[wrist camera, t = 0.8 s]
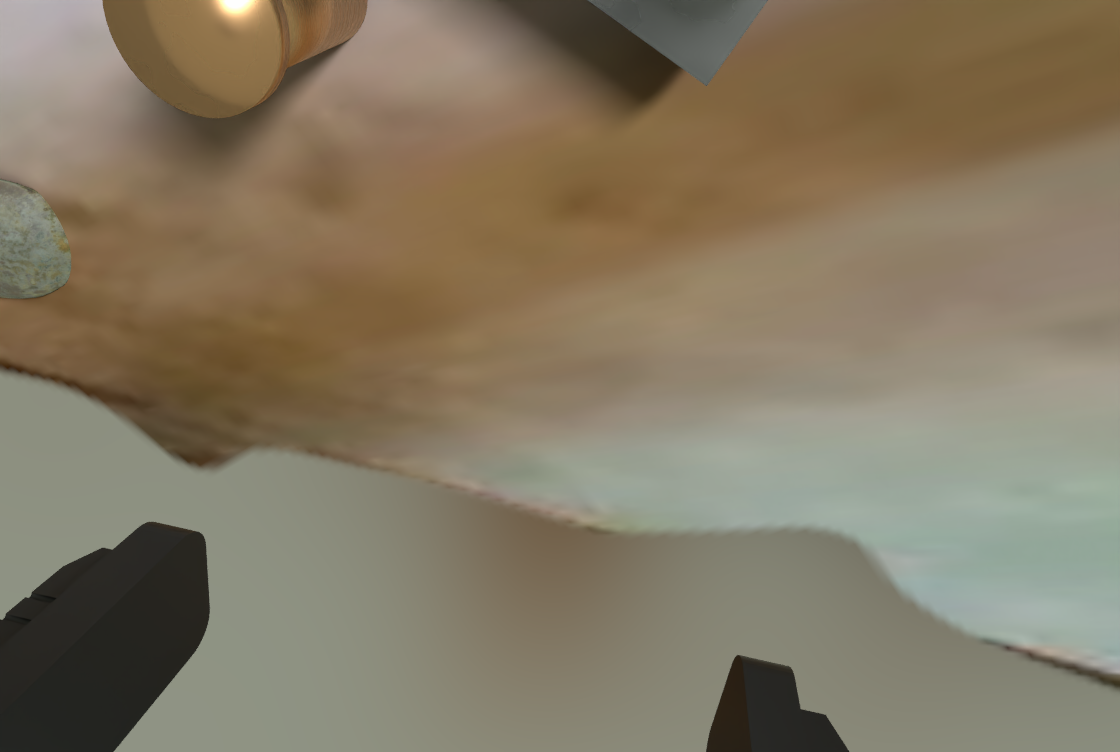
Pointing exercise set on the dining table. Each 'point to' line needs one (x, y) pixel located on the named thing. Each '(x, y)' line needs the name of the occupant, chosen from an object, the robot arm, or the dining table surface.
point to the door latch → (687, 28)
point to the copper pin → (224, 46)
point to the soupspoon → (30, 244)
